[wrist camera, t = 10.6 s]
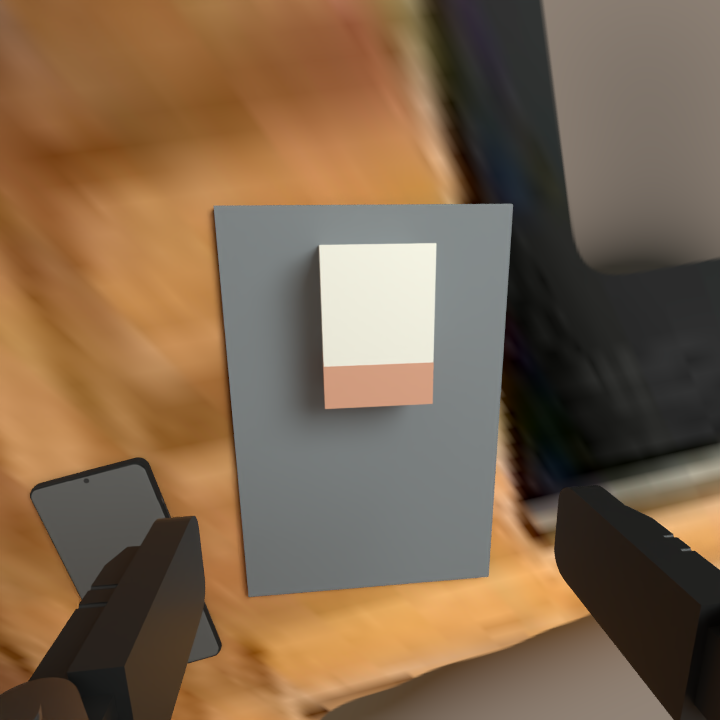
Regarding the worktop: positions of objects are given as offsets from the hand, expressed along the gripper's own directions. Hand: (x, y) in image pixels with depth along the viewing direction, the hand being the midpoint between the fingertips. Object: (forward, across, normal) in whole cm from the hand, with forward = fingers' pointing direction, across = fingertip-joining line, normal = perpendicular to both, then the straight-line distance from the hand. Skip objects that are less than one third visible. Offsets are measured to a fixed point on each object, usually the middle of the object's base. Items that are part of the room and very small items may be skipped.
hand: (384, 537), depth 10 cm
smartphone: (+18, +13, +13) cm, 26 cm away
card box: (+16, -2, -2) cm, 17 cm away
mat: (+17, -2, +3) cm, 18 cm away
